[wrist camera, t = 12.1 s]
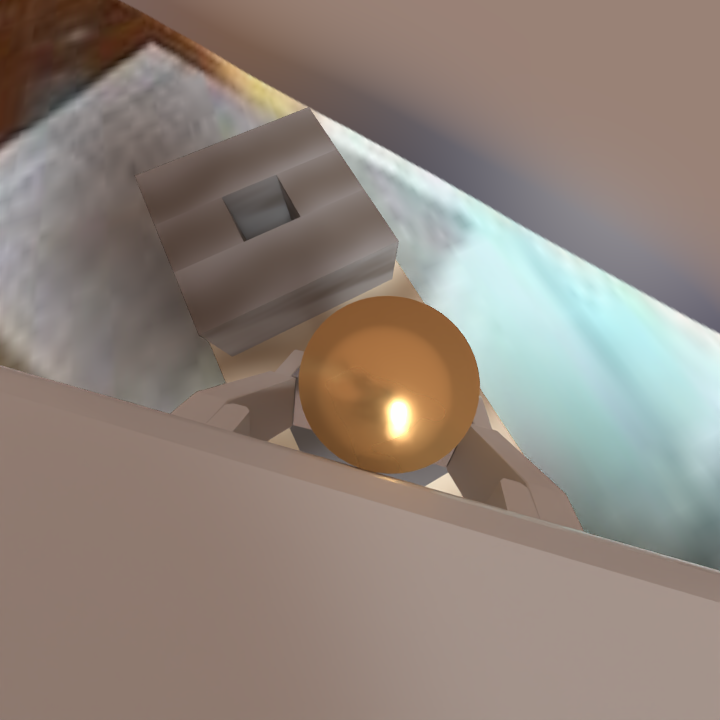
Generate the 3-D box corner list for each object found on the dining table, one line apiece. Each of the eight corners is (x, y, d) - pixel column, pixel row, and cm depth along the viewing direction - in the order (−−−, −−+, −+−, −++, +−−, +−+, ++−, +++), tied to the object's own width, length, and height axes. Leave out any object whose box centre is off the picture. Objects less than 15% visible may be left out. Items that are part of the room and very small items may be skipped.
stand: (174, 241, 23) (118, 181, 18) (331, 174, 25) (322, 101, 19) (314, 575, 17) (292, 637, 12) (512, 456, 18) (572, 462, 13)
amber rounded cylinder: (332, 407, 16) (269, 342, 5) (383, 380, 16) (419, 269, 6) (359, 461, 15) (350, 511, 5) (412, 432, 16) (517, 414, 5)
